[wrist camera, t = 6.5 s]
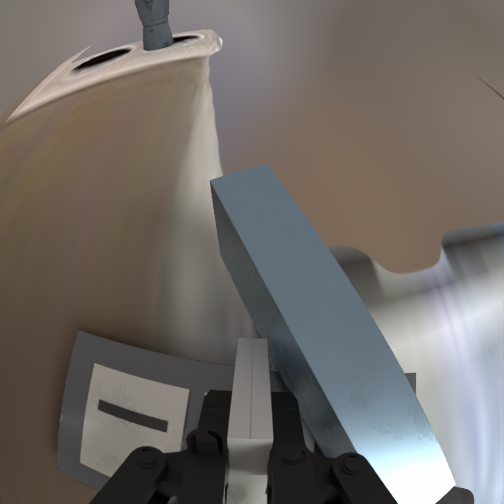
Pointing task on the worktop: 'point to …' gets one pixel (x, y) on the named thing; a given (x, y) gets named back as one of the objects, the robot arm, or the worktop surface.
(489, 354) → the worktop surface
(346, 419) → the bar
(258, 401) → the robot arm
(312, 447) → the plate
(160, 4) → the moka pot
